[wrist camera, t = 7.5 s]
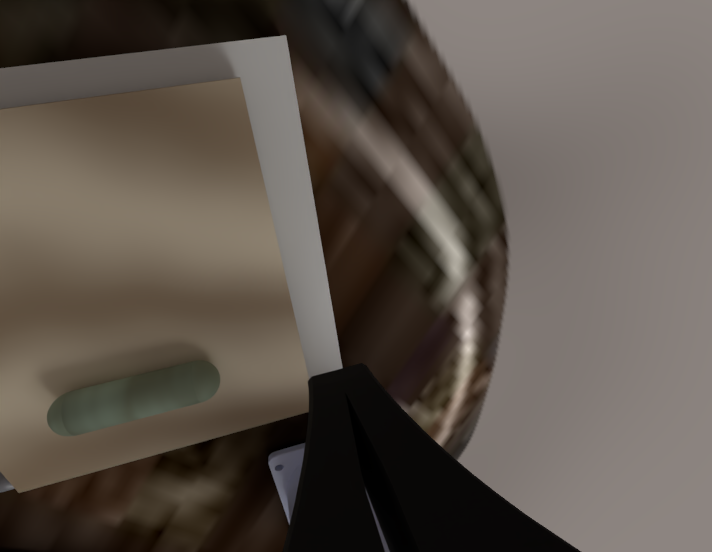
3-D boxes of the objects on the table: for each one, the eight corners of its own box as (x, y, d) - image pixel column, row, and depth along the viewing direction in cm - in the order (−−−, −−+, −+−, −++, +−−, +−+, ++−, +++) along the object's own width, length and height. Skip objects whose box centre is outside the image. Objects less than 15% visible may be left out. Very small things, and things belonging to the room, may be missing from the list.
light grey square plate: (341, 376, 22) (350, 407, 20) (18, 462, 19) (-7, 508, 17) (281, 38, 14) (288, 33, 12) (-278, 103, 11) (-388, 111, 9)
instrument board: (312, 394, 19) (322, 437, 17) (30, 471, 17) (-2, 531, 15) (240, 77, 13) (239, 78, 10) (-243, 140, 10) (-374, 159, 8)
